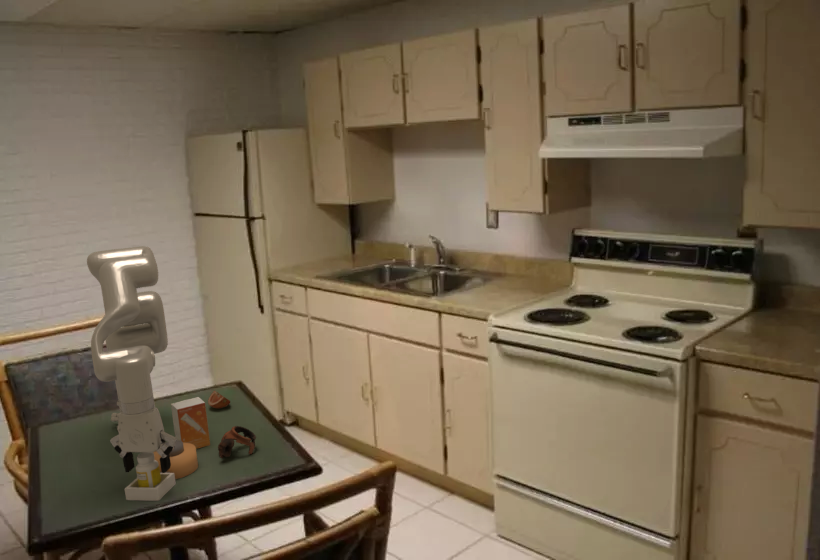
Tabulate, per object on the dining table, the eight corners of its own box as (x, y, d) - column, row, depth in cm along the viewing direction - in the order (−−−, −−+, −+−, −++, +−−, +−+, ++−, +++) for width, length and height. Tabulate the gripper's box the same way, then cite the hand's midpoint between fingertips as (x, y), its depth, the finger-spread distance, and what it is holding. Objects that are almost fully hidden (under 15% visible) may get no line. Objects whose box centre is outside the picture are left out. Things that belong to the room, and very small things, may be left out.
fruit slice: (235, 408, 236) (233, 394, 235) (214, 414, 232) (212, 399, 231) (225, 402, 243) (223, 387, 242) (205, 407, 239) (203, 393, 238)
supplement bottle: (161, 484, 186) (156, 448, 184) (163, 493, 181) (157, 456, 179) (139, 489, 184) (133, 453, 182) (140, 499, 179) (134, 461, 177)
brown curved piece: (226, 447, 208) (238, 421, 207) (253, 464, 205) (265, 438, 204) (203, 454, 196) (215, 427, 195) (230, 472, 193) (243, 445, 193)
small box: (182, 453, 204) (176, 409, 201) (176, 446, 209) (170, 403, 207) (211, 445, 208) (205, 401, 206) (204, 438, 213) (198, 396, 211)
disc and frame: (119, 499, 179) (115, 473, 178) (165, 459, 201) (161, 435, 199) (165, 500, 177) (161, 473, 176) (205, 460, 199) (202, 435, 197)
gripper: (96, 411, 176) (107, 476, 179) (163, 410, 173) (173, 478, 176) (114, 399, 183) (124, 463, 187) (178, 399, 180) (187, 463, 183)
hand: (148, 470), depth 181 cm, fingers open, 9 cm apart
